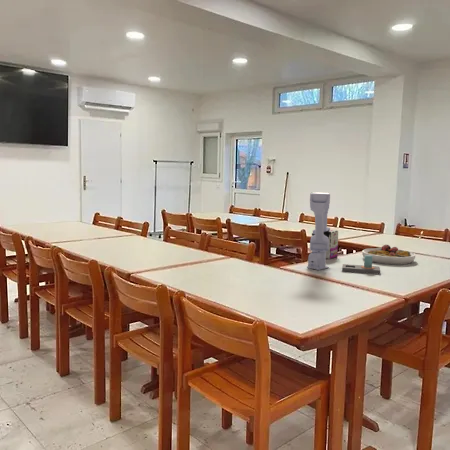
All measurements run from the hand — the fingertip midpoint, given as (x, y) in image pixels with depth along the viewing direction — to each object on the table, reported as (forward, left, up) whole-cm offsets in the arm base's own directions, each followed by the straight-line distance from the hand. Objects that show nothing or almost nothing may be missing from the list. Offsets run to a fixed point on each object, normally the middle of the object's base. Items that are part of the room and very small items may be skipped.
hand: (320, 244), depth 258 cm
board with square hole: (0, -26, -11) cm, 28 cm away
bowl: (+40, -20, -11) cm, 46 cm away
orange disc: (+2, -29, -9) cm, 30 cm away
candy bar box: (+18, +6, -11) cm, 22 cm away
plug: (+2, -29, -8) cm, 30 cm away
